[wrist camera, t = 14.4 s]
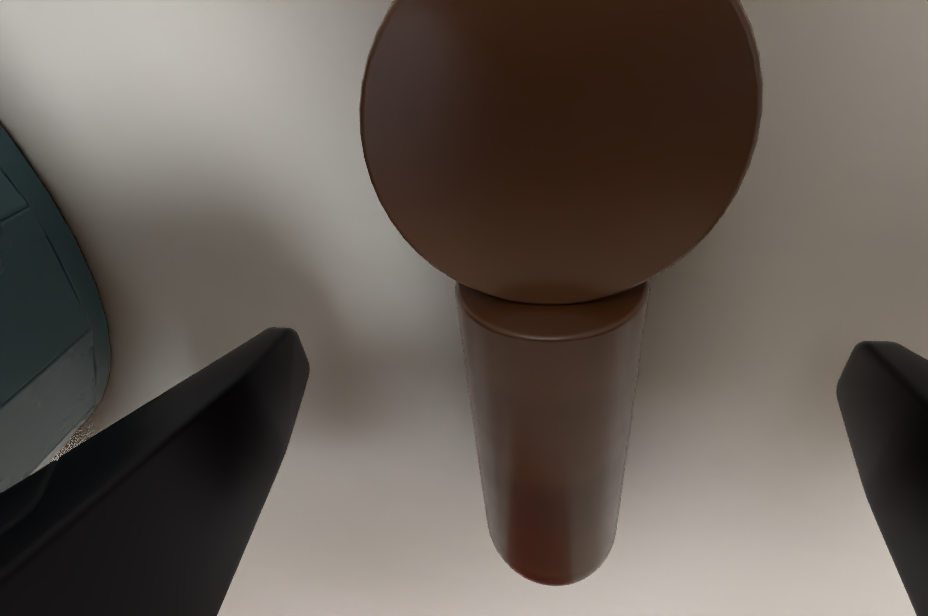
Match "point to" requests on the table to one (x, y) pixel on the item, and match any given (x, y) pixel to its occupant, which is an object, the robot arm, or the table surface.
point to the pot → (43, 325)
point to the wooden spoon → (557, 220)
